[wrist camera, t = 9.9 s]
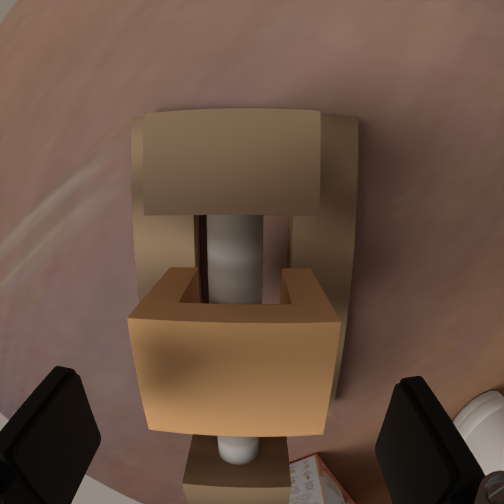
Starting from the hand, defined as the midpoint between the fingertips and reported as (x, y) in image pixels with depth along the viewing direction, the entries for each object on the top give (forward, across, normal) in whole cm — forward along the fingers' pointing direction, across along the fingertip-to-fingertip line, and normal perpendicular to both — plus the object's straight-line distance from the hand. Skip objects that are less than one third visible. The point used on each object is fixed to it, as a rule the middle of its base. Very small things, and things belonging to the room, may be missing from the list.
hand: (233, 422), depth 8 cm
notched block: (+8, 0, 0) cm, 8 cm away
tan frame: (+15, 0, +1) cm, 15 cm away
